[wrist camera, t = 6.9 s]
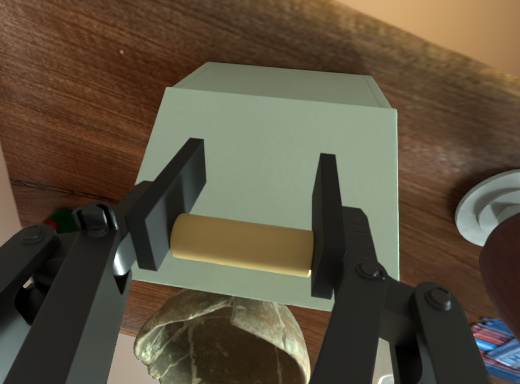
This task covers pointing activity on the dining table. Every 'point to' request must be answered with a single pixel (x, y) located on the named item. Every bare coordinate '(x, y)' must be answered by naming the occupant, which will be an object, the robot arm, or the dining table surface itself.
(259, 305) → the bowl
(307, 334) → the dining table surface
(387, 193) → the chest lid
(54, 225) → the soda can
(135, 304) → the dining table surface
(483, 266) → the mate gourd
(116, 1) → the dining table surface
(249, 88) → the chest
